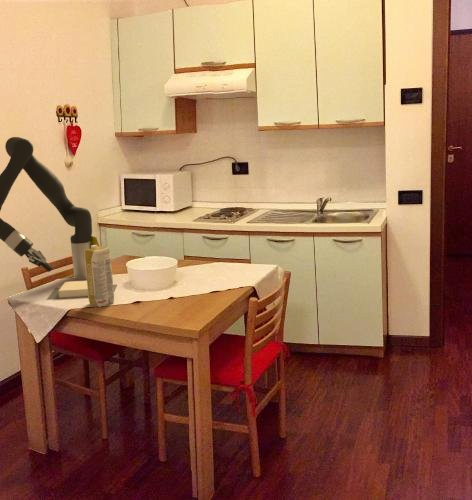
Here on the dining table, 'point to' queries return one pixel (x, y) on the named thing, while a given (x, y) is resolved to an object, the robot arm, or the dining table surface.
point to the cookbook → (73, 289)
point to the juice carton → (99, 275)
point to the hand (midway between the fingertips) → (51, 269)
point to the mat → (56, 296)
